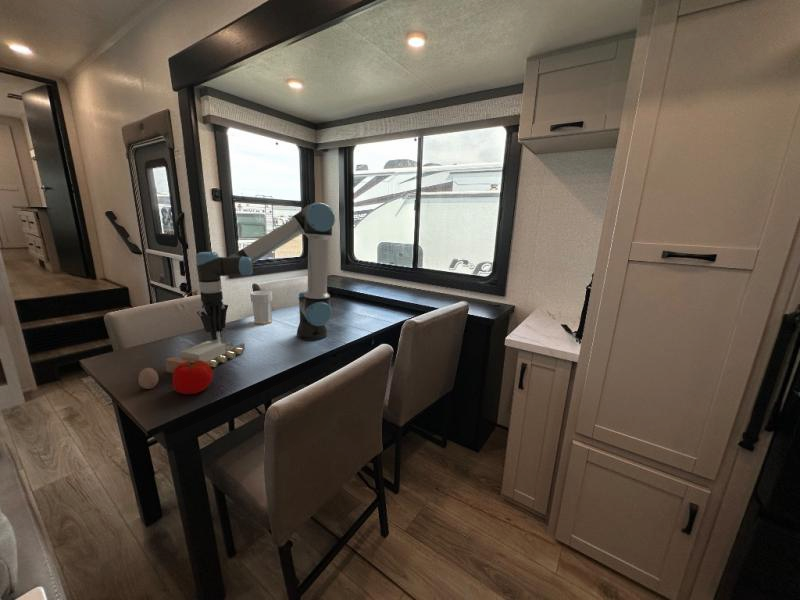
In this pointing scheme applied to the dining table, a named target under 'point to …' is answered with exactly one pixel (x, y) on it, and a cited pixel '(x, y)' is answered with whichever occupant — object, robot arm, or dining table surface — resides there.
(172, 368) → the rack with metal cylinders
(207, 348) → the paver
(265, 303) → the cup
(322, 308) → the robot arm
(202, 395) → the dining table surface
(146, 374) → the egg
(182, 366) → the tomato
